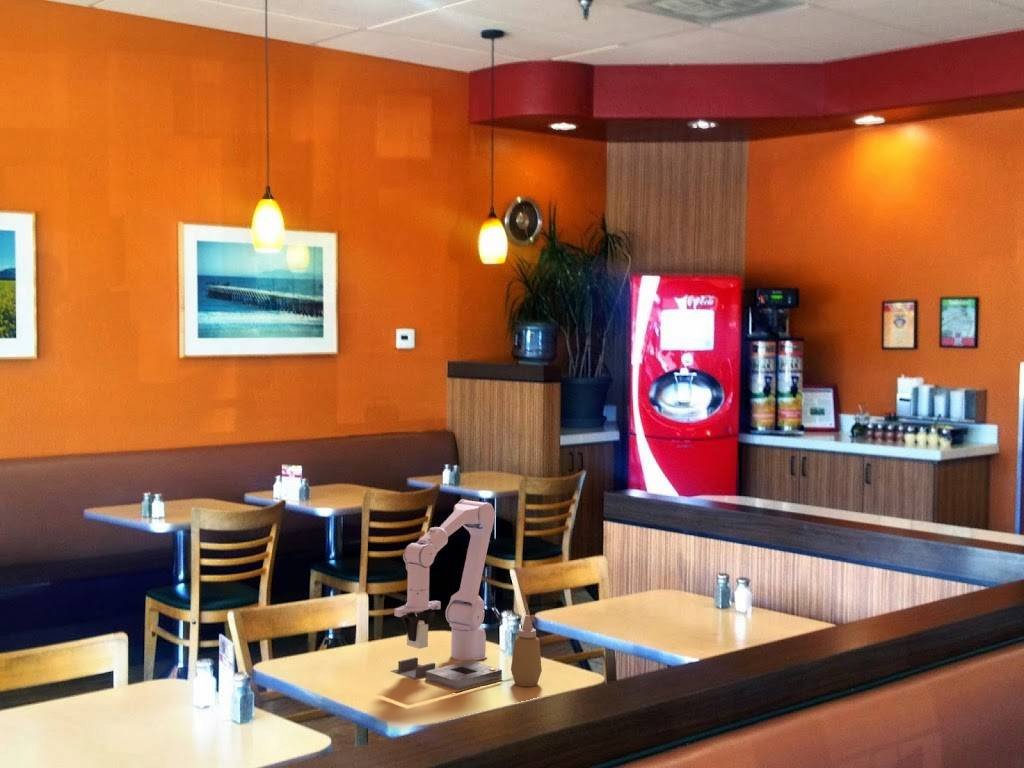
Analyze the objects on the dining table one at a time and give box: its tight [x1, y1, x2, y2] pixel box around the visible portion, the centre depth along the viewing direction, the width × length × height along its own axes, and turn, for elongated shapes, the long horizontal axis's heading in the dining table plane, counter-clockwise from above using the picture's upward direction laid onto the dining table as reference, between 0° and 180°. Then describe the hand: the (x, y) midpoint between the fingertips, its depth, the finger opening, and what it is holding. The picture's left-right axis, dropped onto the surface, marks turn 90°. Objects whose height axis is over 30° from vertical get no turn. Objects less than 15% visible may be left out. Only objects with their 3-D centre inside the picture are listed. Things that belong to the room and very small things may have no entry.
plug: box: [406, 620, 429, 650], centre depth 335 cm, size 3×5×7 cm, turn 45°
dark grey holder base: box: [390, 656, 436, 680], centre depth 336 cm, size 10×10×3 cm
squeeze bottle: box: [510, 615, 543, 687], centre depth 329 cm, size 8×8×18 cm
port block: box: [425, 659, 503, 694], centre depth 330 cm, size 16×12×3 cm
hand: (417, 639), depth 335 cm, fingers closed on plug, 3 cm apart
